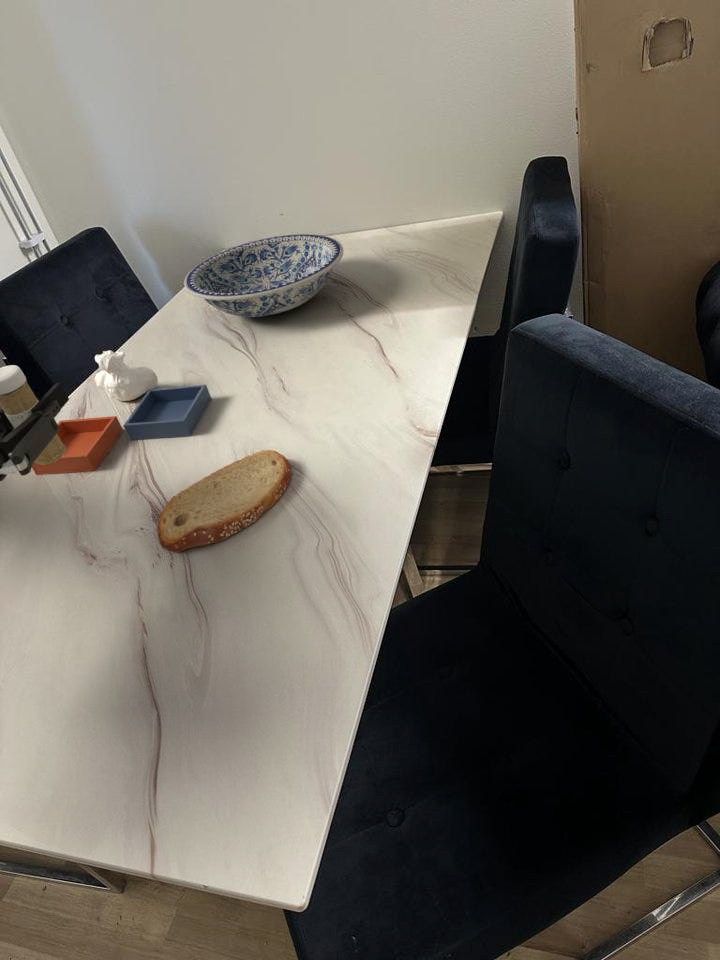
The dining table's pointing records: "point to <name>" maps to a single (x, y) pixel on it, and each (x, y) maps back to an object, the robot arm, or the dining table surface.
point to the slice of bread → (224, 501)
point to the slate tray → (168, 412)
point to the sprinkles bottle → (24, 408)
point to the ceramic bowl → (265, 274)
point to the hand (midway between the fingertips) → (46, 392)
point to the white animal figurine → (123, 377)
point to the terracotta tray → (83, 444)
